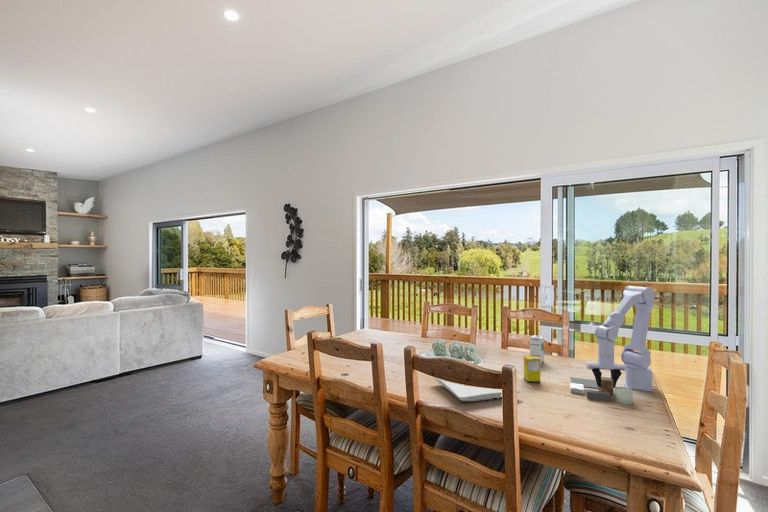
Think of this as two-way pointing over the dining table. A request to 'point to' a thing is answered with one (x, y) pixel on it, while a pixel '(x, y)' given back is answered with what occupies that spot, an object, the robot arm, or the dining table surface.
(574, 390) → the grey topped wooden block
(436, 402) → the dining table surface
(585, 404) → the dining table surface
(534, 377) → the supplement box
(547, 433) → the dining table surface
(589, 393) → the charcoal rubber bar
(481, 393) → the square plate
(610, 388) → the walnut block
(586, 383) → the slate coaster
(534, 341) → the syrup box
